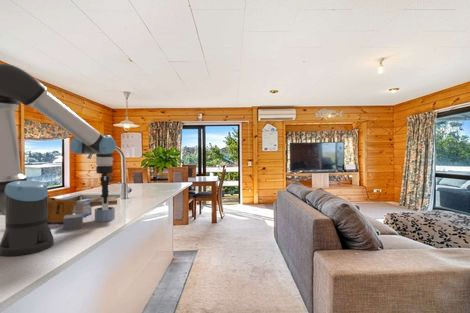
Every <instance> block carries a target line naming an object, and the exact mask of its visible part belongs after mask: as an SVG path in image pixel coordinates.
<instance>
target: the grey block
mask: <svg viewBox="0 0 470 313" xmlns="http://www.w3.org/2000/svg"><path fill="white" fill-rule="evenodd" d="M62 223H63V225H62V226H63V227H62V228H63V231H67V229H68V230H75V229H77V230H78V229H83V223H84V217H83V214H75V213H74V214H73V215H65V217H64V218H63V222H62Z"/></svg>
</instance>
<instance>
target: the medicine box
mask: <svg viewBox="0 0 470 313" xmlns="http://www.w3.org/2000/svg"><path fill="white" fill-rule="evenodd" d="M90 199H91V198H83V199H80V200H76V201H77V202H76V204H75V206H74V208H75V209H74V210H75V211H74V212H75V213H74V215H75V214H83V218H86V217H88V216H90V215H92V213H93V212H92V207H93V206H90Z"/></svg>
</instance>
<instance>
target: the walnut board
mask: <svg viewBox="0 0 470 313" xmlns="http://www.w3.org/2000/svg"><path fill="white" fill-rule="evenodd" d="M89 199H90V206H92V207H100V206H101V207H102V197H96V198H89ZM114 205H118V199H117V197H116V196H112V197H109V196H108V206H114Z"/></svg>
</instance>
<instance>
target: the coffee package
mask: <svg viewBox="0 0 470 313" xmlns="http://www.w3.org/2000/svg"><path fill="white" fill-rule="evenodd" d="M77 201H78V200H68V199H63V198H56V197H50V196H48V223H63V218H64V217H65V215H74V213H73V212H74V210H75V209H74V208H75V204H76V202H77Z"/></svg>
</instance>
